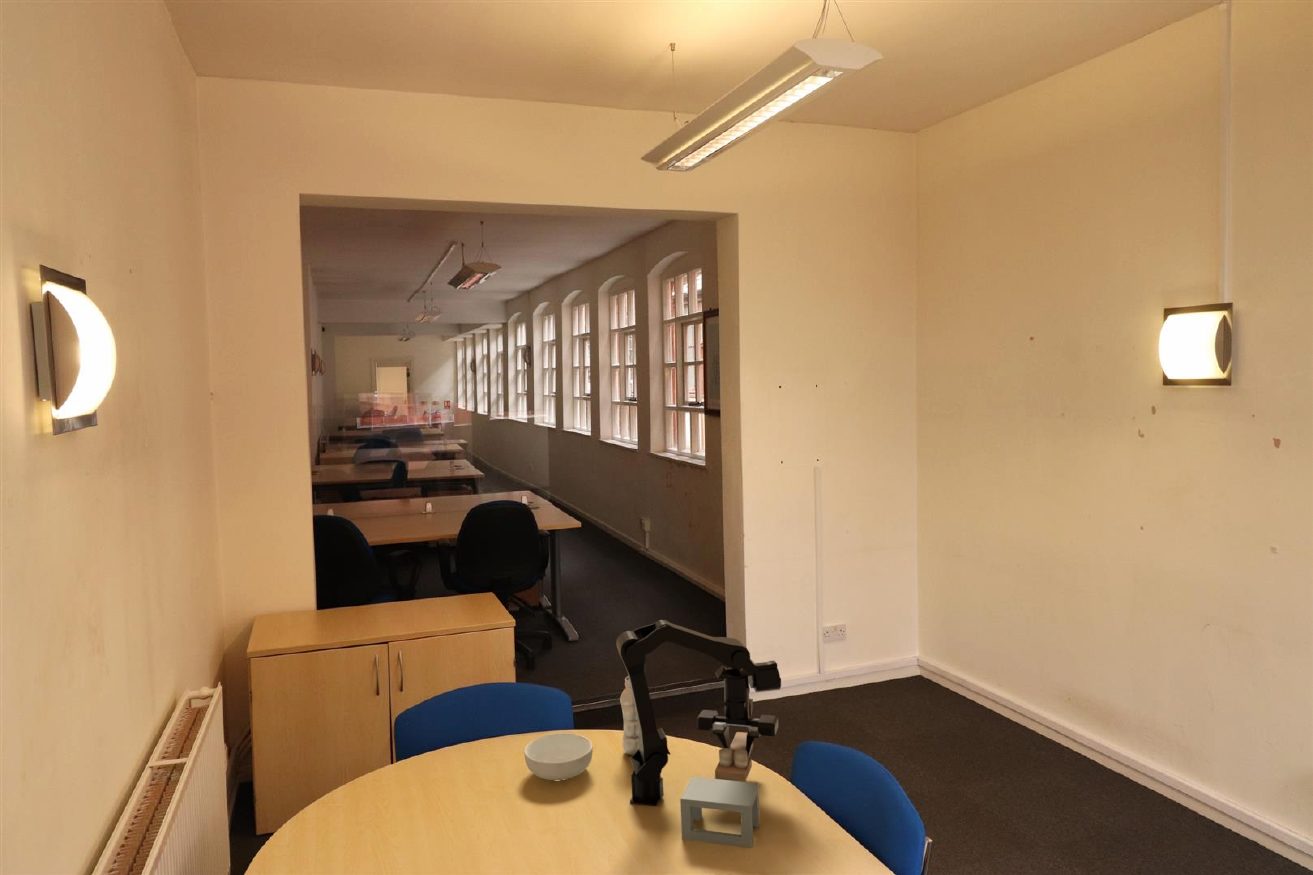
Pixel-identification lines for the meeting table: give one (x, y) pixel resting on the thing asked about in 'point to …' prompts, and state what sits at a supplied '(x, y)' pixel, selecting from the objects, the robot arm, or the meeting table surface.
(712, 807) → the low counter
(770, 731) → the robot arm
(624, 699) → the plastic bottle
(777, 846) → the meeting table surface
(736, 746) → the glasses tray
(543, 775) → the cereal bowl
